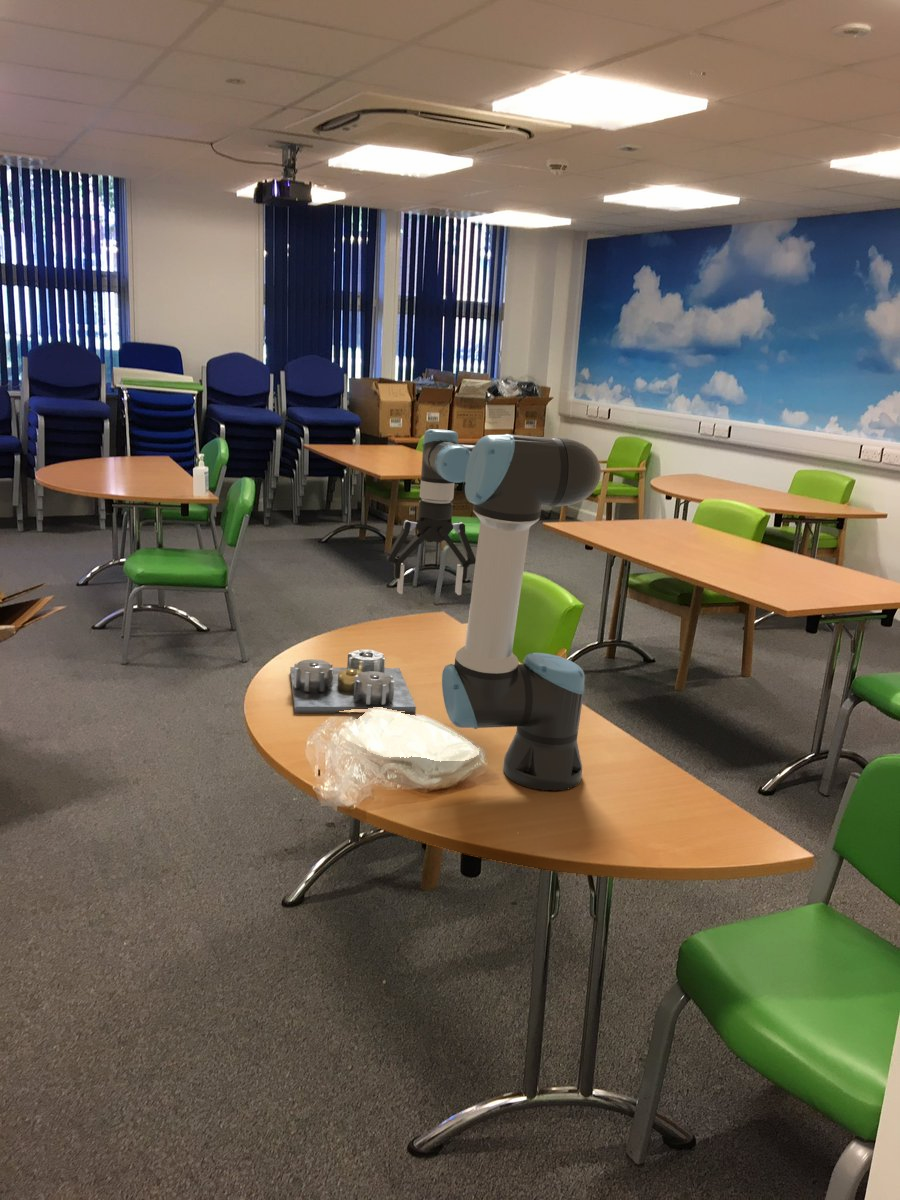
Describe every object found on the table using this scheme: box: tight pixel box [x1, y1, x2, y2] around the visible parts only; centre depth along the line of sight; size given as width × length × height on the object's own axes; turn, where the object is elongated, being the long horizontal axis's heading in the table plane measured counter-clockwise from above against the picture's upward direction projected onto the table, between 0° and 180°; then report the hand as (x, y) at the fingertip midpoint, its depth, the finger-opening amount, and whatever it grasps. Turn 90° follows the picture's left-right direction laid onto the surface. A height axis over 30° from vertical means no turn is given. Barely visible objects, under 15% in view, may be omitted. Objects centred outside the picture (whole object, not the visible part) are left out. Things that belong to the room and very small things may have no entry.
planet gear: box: [346, 649, 386, 673], centre depth 218 cm, size 8×8×5 cm
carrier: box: [289, 653, 417, 714], centre depth 210 cm, size 24×26×7 cm
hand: (429, 593), depth 211 cm, fingers open, 13 cm apart
